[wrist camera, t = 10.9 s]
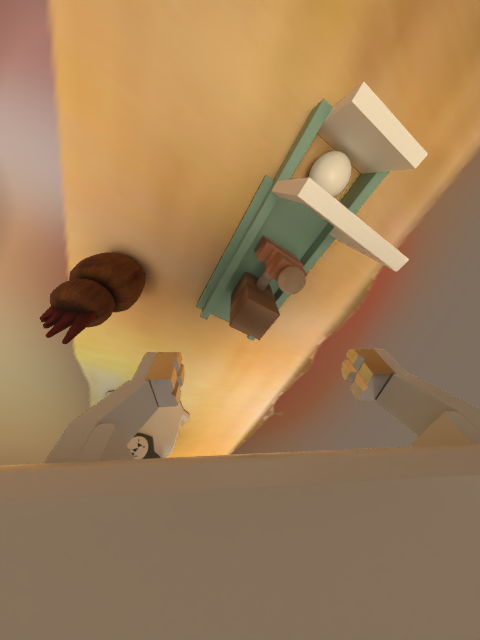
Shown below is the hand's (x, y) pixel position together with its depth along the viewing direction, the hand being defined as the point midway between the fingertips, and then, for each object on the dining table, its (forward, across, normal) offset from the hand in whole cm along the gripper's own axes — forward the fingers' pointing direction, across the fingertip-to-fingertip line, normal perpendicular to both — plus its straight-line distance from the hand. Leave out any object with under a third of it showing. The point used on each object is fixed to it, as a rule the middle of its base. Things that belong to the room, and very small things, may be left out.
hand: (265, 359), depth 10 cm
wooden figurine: (+21, +16, +3) cm, 26 cm away
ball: (+18, -9, -8) cm, 21 cm away
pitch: (+20, -4, 0) cm, 20 cm away
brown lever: (+19, -3, +3) cm, 19 cm away
